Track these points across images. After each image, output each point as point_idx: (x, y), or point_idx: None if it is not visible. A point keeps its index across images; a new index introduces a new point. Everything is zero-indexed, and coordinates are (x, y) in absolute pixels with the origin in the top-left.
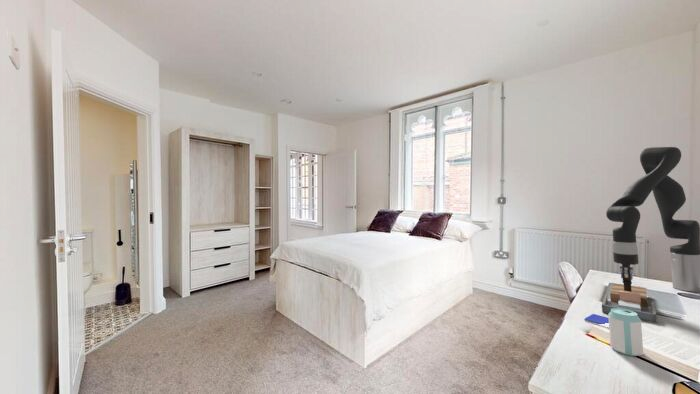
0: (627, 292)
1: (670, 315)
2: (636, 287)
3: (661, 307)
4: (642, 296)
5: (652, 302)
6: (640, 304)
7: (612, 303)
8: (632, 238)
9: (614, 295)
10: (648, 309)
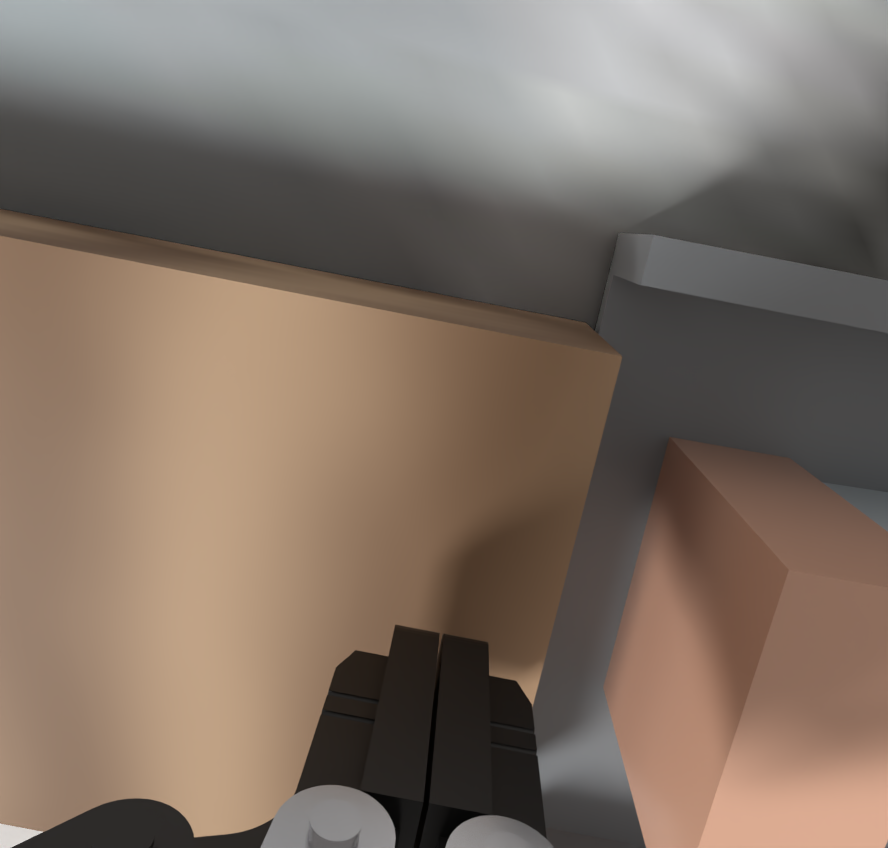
0: (851, 828)
1: (860, 53)
2: None
3: (385, 74)
4: (458, 409)
5: (675, 270)
6: (829, 499)
7: (614, 780)
8: None
9: None
10: (731, 347)
